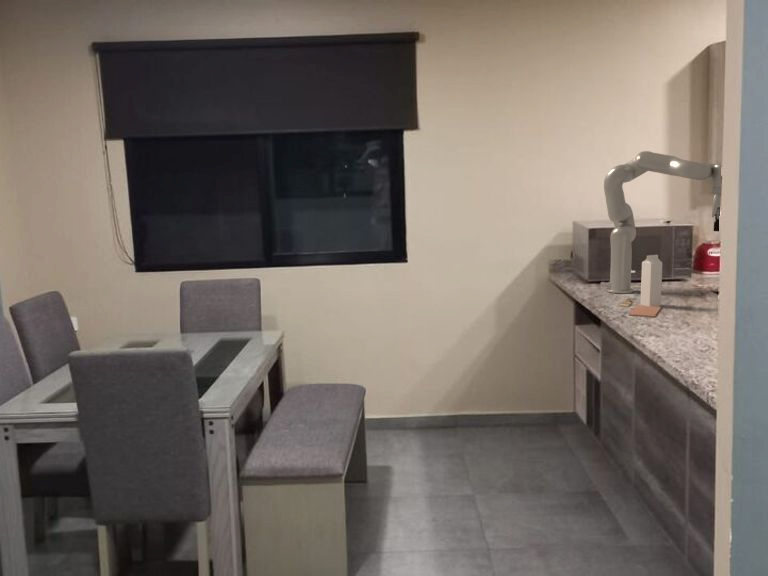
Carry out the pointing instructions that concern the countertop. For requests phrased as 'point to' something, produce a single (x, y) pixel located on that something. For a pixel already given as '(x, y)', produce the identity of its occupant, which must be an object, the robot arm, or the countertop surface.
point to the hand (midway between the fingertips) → (718, 230)
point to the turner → (626, 303)
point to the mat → (645, 311)
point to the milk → (651, 281)
